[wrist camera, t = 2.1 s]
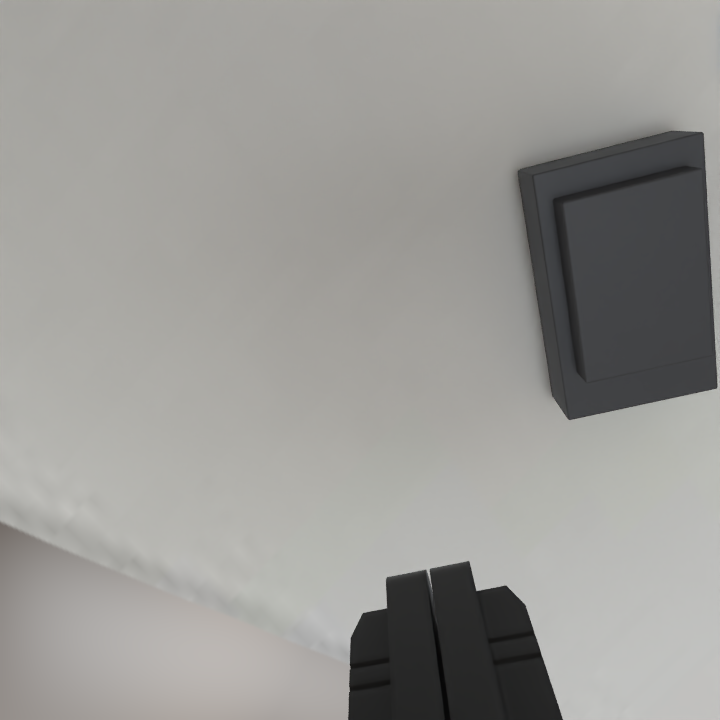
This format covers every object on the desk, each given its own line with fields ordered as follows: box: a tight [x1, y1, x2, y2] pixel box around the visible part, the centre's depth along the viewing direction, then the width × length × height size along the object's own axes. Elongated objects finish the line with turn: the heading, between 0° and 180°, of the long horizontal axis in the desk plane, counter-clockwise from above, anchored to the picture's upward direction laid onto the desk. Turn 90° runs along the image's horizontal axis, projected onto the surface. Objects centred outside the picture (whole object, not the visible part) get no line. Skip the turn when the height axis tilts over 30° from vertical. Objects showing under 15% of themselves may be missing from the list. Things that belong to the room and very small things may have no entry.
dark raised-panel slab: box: [518, 131, 717, 420], centre depth 25 cm, size 10×6×4 cm, turn 14°
